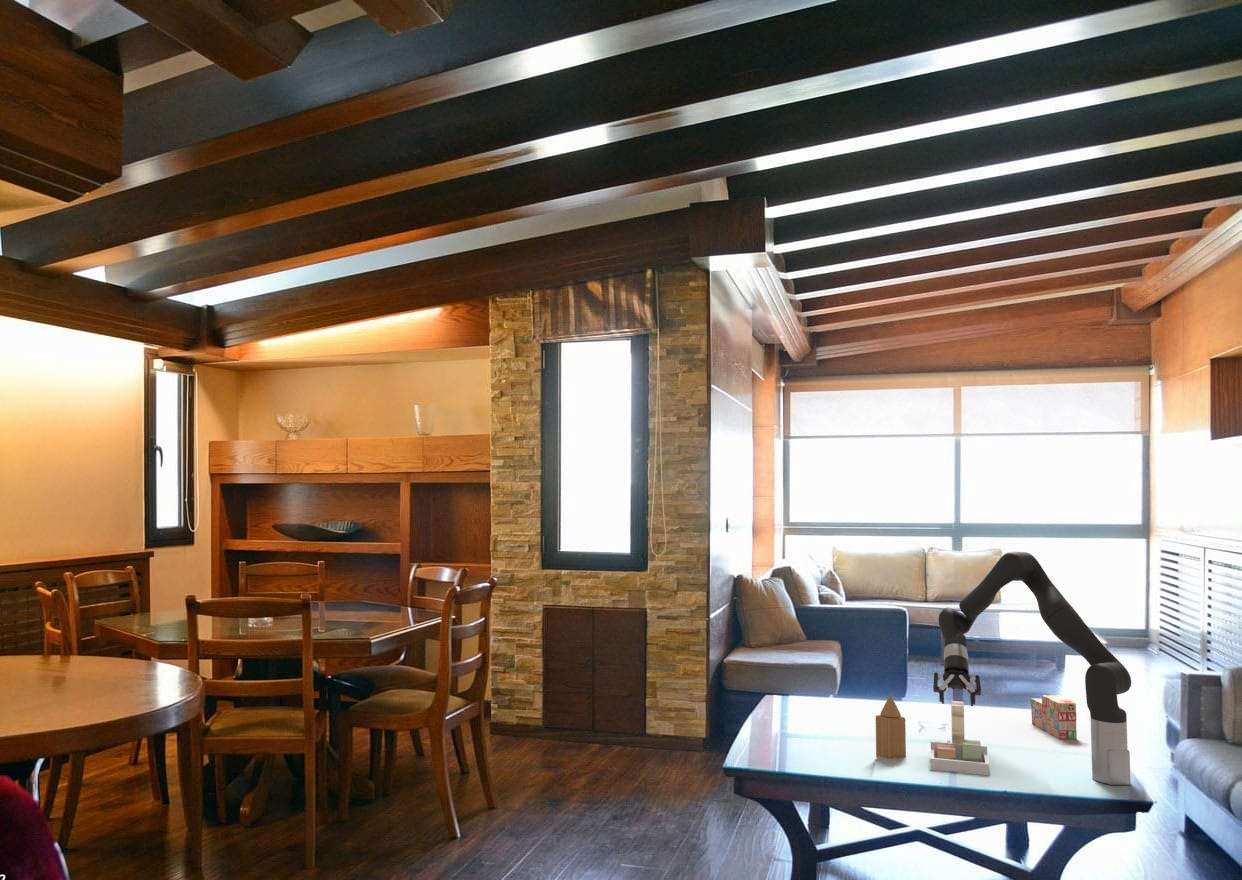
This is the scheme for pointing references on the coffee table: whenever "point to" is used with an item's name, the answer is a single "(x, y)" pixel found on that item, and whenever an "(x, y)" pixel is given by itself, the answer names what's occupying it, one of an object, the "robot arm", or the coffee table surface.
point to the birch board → (957, 721)
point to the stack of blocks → (1055, 716)
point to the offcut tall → (971, 750)
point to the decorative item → (890, 731)
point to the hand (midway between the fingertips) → (957, 703)
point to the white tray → (959, 760)
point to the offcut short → (946, 752)
